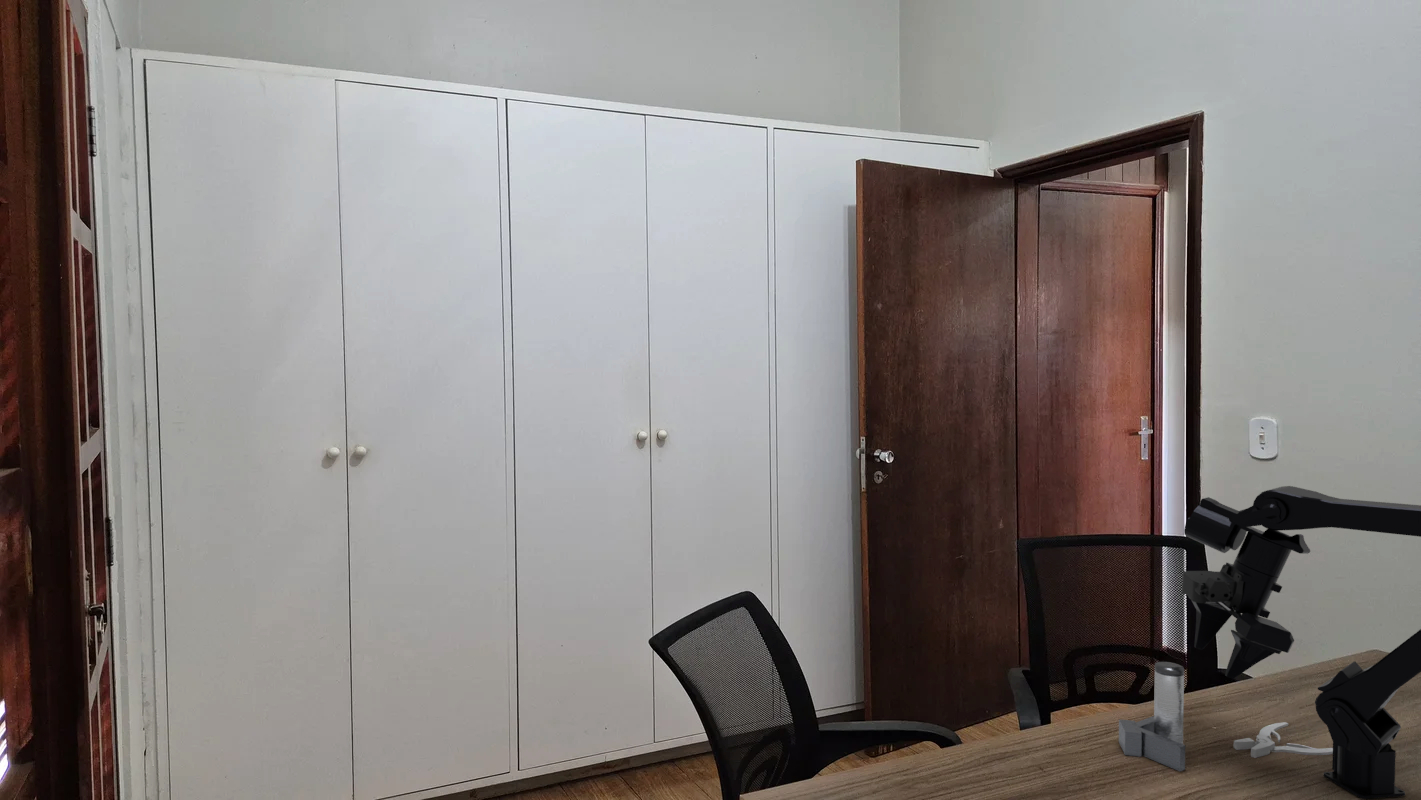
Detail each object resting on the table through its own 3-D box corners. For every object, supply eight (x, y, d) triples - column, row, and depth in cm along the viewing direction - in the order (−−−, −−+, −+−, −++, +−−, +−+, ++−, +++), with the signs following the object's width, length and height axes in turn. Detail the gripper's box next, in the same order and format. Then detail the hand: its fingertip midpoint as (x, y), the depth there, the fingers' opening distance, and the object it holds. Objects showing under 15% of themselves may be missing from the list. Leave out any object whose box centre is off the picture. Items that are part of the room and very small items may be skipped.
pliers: (1348, 742, 126) (1275, 759, 121) (1348, 752, 126) (1275, 770, 121) (1283, 716, 135) (1213, 731, 130) (1283, 725, 135) (1213, 741, 130)
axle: (1188, 758, 124) (1190, 670, 123) (1164, 759, 123) (1165, 671, 123) (1171, 746, 128) (1173, 661, 127) (1148, 747, 127) (1149, 662, 127)
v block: (1165, 736, 131) (1165, 714, 131) (1186, 772, 120) (1187, 747, 119) (1113, 731, 133) (1114, 709, 133) (1130, 766, 121) (1130, 742, 121)
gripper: (1174, 530, 133) (1135, 619, 136) (1237, 574, 115) (1190, 675, 118) (1242, 552, 133) (1202, 641, 136) (1317, 600, 115) (1268, 701, 117)
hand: (1213, 662), depth 127 cm, fingers open, 9 cm apart
